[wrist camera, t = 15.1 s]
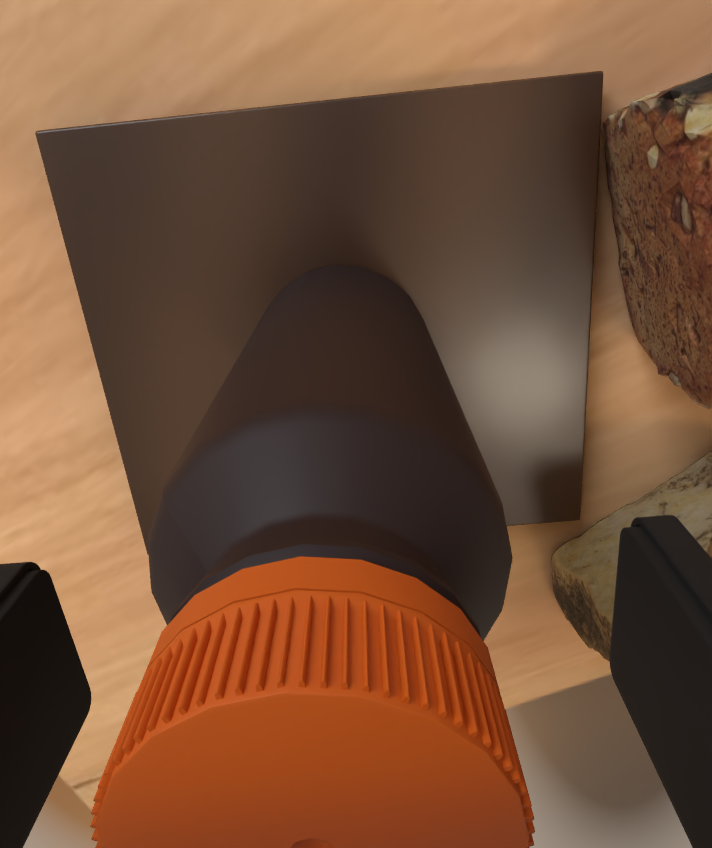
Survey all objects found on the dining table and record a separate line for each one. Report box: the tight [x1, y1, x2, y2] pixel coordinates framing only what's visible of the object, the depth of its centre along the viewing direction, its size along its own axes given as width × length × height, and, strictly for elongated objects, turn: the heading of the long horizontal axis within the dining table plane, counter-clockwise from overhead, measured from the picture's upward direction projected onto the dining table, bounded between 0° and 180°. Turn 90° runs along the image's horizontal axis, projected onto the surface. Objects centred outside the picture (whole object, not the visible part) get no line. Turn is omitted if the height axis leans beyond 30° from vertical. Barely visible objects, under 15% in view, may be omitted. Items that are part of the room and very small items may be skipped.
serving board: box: [36, 71, 603, 555], centre depth 26 cm, size 20×18×2 cm
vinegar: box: [91, 265, 535, 848], centre depth 16 cm, size 7×7×20 cm
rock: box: [552, 452, 712, 662], centre depth 28 cm, size 11×9×10 cm
